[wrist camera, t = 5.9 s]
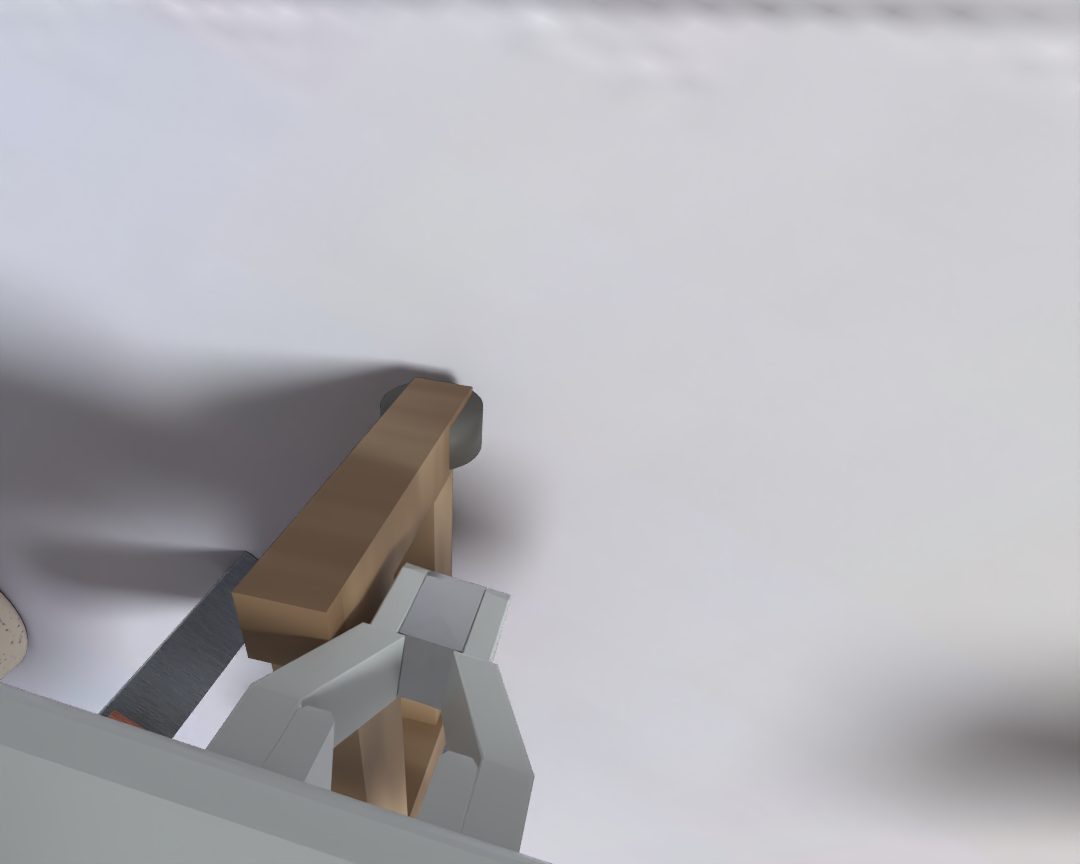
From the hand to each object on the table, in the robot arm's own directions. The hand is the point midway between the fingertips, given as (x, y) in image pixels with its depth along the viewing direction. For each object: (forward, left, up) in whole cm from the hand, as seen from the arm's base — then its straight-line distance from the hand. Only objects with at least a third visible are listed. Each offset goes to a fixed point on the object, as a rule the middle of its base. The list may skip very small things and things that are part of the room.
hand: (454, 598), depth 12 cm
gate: (-5, -1, -6) cm, 8 cm away
